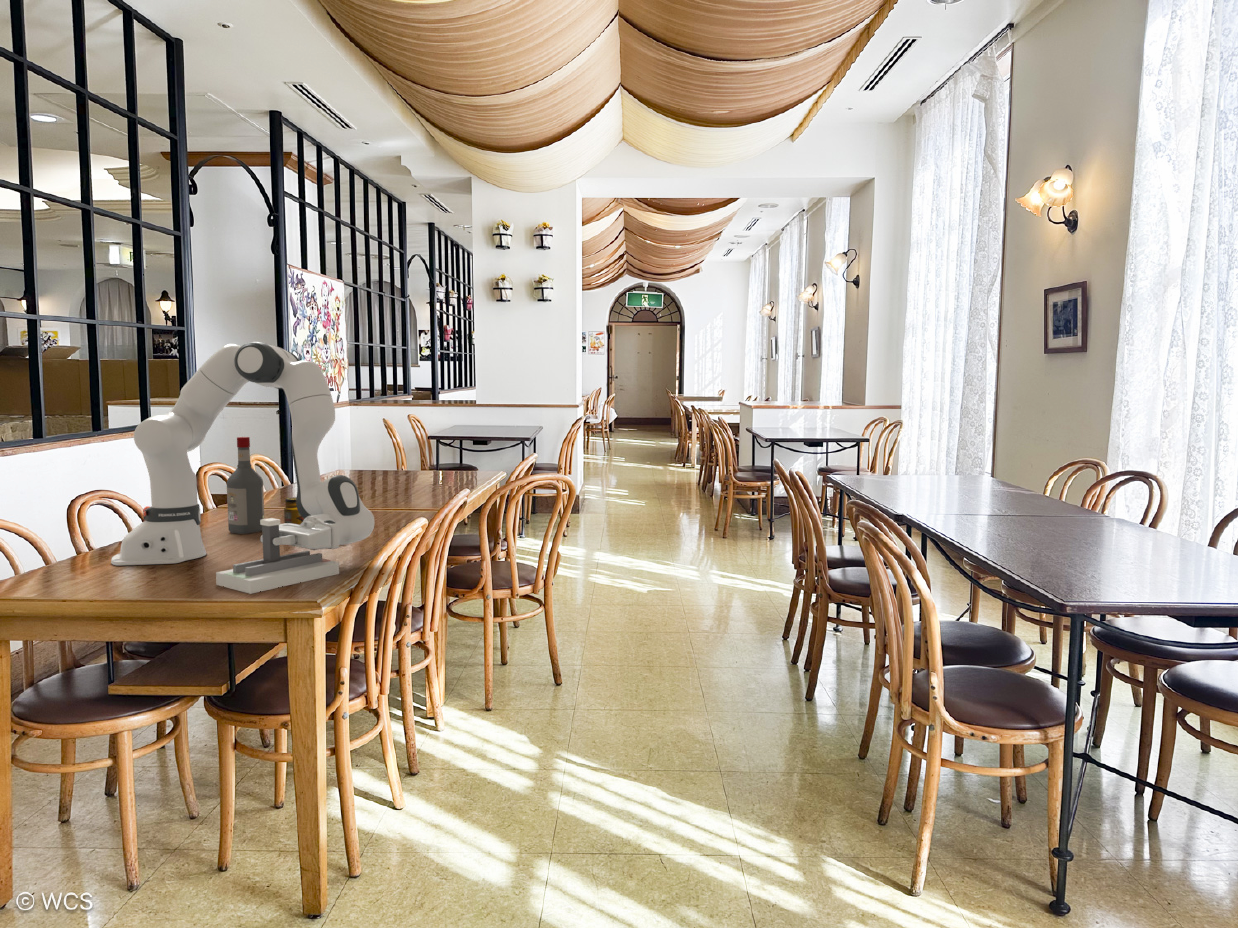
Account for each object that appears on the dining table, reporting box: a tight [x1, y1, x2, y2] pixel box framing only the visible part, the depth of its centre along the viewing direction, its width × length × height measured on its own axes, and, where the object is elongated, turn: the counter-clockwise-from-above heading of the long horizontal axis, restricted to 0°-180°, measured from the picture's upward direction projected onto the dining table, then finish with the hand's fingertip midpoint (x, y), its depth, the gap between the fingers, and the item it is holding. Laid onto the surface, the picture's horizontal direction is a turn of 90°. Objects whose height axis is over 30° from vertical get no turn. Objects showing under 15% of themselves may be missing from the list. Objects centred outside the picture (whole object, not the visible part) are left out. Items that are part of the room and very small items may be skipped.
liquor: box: [226, 436, 265, 535], centre depth 262 cm, size 9×9×30 cm
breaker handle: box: [260, 517, 281, 564], centre depth 200 cm, size 3×4×12 cm
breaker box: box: [215, 550, 340, 595], centre depth 202 cm, size 24×14×5 cm, turn 146°
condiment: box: [283, 496, 304, 525], centre depth 255 cm, size 7×8×12 cm
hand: (267, 540), depth 199 cm, fingers closed on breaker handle, 3 cm apart
